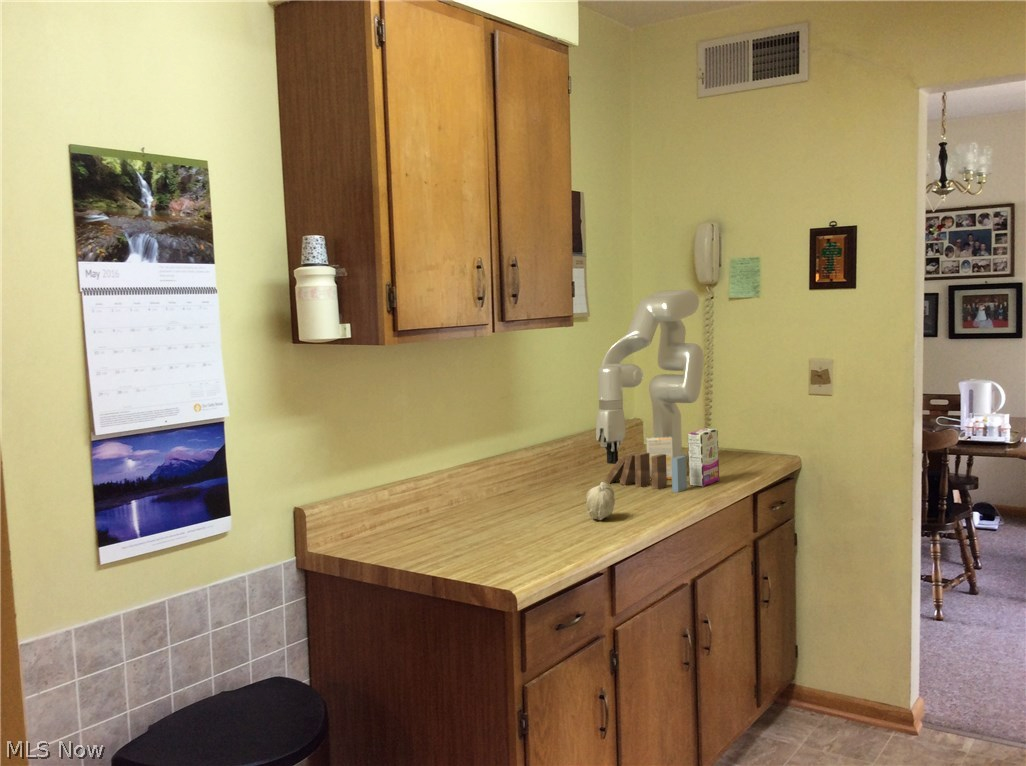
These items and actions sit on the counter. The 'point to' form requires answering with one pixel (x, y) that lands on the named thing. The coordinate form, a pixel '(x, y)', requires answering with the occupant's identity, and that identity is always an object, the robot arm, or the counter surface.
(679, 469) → the domino
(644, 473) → the domino
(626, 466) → the domino
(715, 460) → the candy bar box
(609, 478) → the domino
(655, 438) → the supplement box
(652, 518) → the counter surface
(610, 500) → the garlic bulb
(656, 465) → the domino
